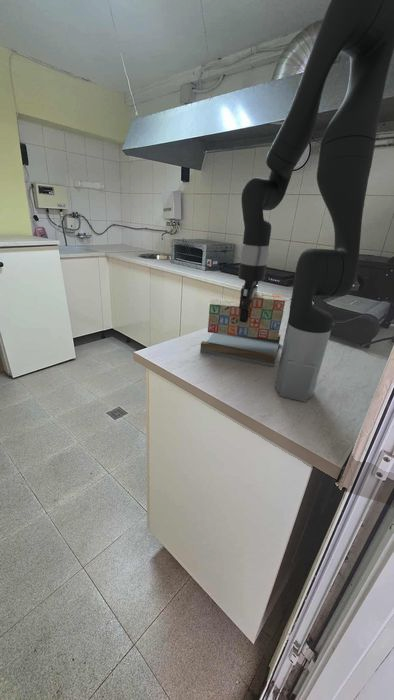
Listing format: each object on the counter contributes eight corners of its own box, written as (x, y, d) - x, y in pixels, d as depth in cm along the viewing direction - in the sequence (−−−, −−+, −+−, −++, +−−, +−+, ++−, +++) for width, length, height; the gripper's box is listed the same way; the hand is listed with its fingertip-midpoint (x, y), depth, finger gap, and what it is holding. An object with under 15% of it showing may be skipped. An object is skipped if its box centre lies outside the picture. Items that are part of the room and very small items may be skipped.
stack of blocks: (207, 333, 87) (209, 293, 81) (208, 325, 92) (211, 288, 87) (278, 339, 85) (285, 299, 79) (275, 331, 91) (282, 293, 85)
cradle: (273, 367, 81) (275, 357, 79) (200, 351, 87) (200, 343, 85) (279, 343, 95) (280, 335, 94) (216, 331, 101) (216, 324, 100)
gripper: (263, 267, 72) (254, 328, 79) (270, 259, 84) (261, 312, 91) (234, 264, 74) (228, 323, 81) (245, 257, 86) (239, 309, 94)
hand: (245, 317), depth 86 cm, fingers closed on stack of blocks, 7 cm apart
